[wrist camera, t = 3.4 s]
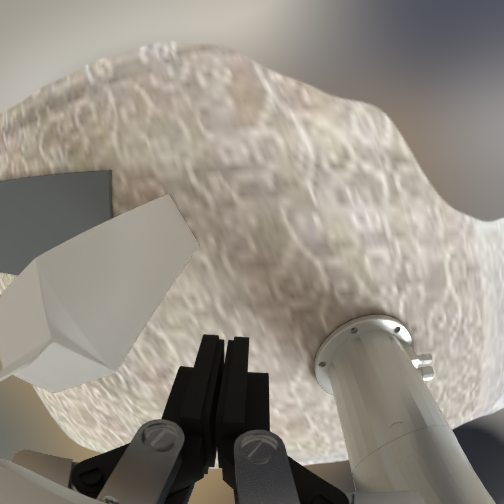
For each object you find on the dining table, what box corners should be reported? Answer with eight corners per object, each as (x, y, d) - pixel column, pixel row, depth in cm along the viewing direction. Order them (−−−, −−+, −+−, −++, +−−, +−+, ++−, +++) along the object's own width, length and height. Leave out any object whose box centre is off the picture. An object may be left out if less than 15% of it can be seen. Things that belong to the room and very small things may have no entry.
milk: (124, 223, 28) (-49, 332, 7) (170, 192, 27) (-21, 284, 6) (155, 272, 30) (26, 431, 9) (202, 245, 29) (86, 425, 8)
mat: (111, 170, 26) (108, 170, 26) (119, 287, 31) (117, 289, 30) (-16, 184, 27) (-19, 184, 26) (-5, 269, 31) (-7, 270, 30)
